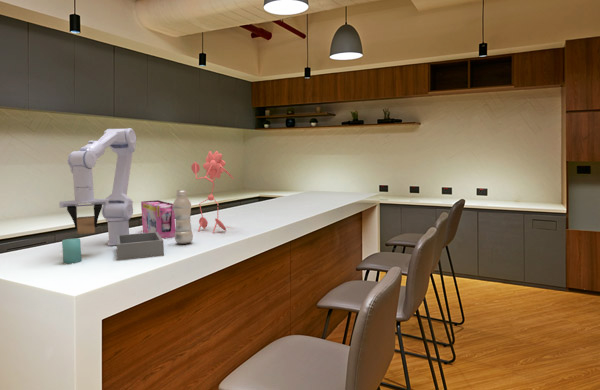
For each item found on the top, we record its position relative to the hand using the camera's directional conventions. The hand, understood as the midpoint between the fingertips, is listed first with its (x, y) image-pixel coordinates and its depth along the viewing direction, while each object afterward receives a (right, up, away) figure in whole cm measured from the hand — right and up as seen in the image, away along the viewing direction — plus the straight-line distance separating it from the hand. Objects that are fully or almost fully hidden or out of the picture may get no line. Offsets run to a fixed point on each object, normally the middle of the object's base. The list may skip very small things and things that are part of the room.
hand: (86, 227), depth 138 cm
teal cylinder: (0, -10, -8) cm, 13 cm away
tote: (+16, -9, +4) cm, 19 cm away
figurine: (+35, -5, +45) cm, 57 cm away
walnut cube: (0, -2, 0) cm, 2 cm away
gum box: (+11, -6, +38) cm, 40 cm away
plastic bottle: (+28, -8, +17) cm, 34 cm away
